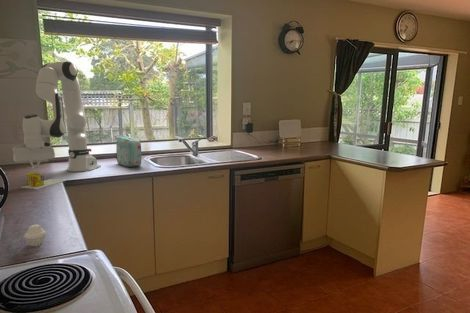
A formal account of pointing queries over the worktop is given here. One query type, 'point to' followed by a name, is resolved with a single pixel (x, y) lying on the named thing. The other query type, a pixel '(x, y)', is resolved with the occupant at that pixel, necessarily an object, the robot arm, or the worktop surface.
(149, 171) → the worktop surface
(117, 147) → the lunch box
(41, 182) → the supplement box
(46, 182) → the mat
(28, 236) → the muffin
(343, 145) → the worktop surface
